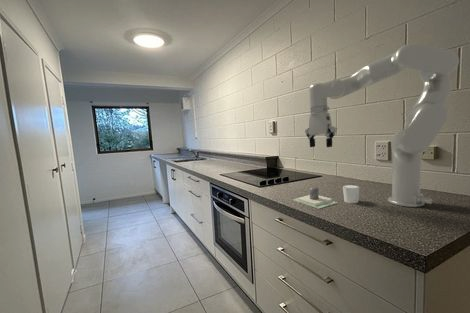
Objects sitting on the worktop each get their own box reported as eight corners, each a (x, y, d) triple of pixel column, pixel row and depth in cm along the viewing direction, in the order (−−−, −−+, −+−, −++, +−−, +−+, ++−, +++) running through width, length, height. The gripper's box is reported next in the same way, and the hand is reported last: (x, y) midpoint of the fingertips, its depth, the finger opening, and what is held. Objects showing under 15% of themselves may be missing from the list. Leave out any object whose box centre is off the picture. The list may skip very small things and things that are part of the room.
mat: (337, 203, 100) (337, 202, 100) (318, 209, 95) (318, 208, 95) (310, 195, 114) (310, 194, 114) (292, 200, 109) (292, 199, 109)
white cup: (344, 198, 107) (344, 184, 106) (361, 200, 102) (360, 185, 102) (341, 202, 101) (341, 187, 101) (358, 204, 97) (357, 189, 96)
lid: (331, 201, 102) (331, 188, 102) (315, 206, 97) (314, 192, 96) (313, 196, 112) (312, 184, 111) (297, 200, 107) (296, 188, 106)
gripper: (340, 108, 98) (342, 146, 100) (309, 113, 113) (311, 146, 115) (329, 108, 95) (331, 147, 96) (299, 113, 110) (301, 147, 111)
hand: (320, 146), depth 106 cm, fingers open, 9 cm apart
